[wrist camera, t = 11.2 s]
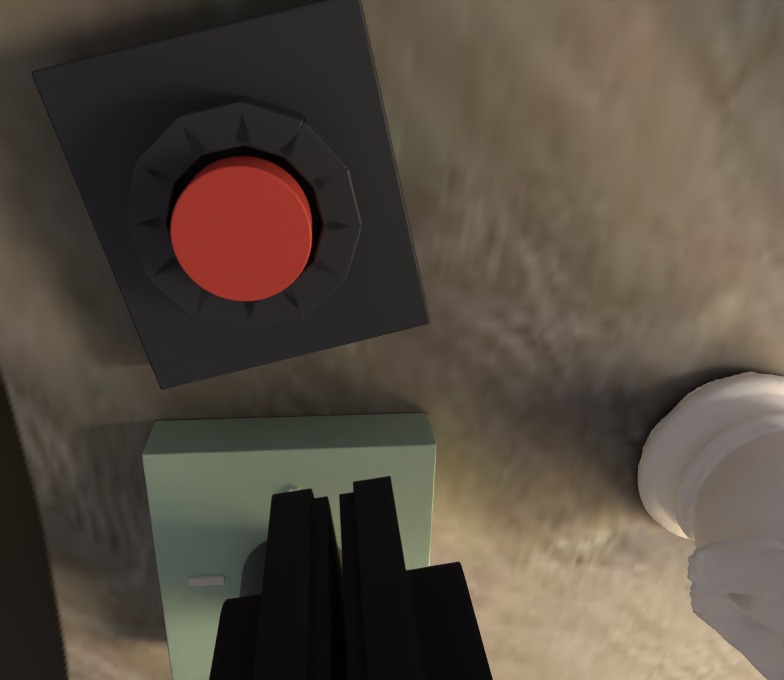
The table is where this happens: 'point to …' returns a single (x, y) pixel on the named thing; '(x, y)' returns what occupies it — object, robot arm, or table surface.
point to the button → (242, 228)
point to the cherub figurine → (727, 506)
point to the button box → (243, 138)
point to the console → (265, 502)
